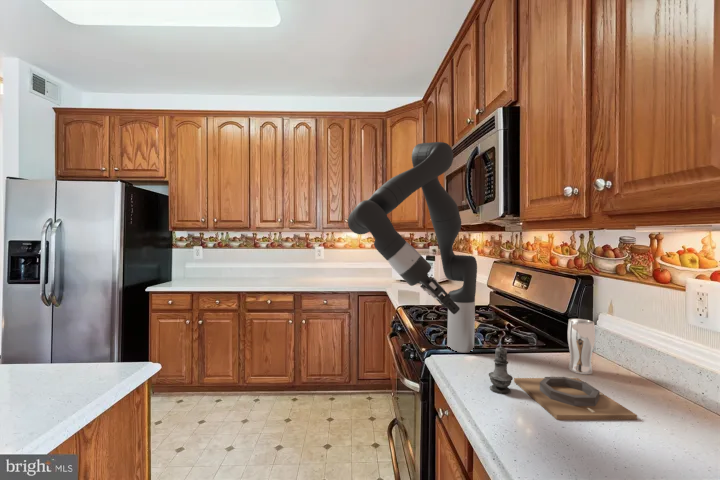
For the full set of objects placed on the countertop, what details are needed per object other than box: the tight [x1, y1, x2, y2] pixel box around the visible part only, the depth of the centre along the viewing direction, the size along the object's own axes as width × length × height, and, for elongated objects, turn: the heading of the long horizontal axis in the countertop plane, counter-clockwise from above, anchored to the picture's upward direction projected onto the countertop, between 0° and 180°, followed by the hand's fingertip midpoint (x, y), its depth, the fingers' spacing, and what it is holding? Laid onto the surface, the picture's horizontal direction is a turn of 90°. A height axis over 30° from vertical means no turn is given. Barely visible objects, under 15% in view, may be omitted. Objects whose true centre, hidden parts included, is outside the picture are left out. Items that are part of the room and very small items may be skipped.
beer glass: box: [567, 318, 596, 376], centre depth 105 cm, size 7×7×15 cm
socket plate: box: [513, 376, 638, 421], centre depth 87 cm, size 20×18×3 cm
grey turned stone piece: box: [488, 343, 514, 395], centre depth 91 cm, size 6×6×12 cm
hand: (451, 308), depth 91 cm, fingers open, 8 cm apart
